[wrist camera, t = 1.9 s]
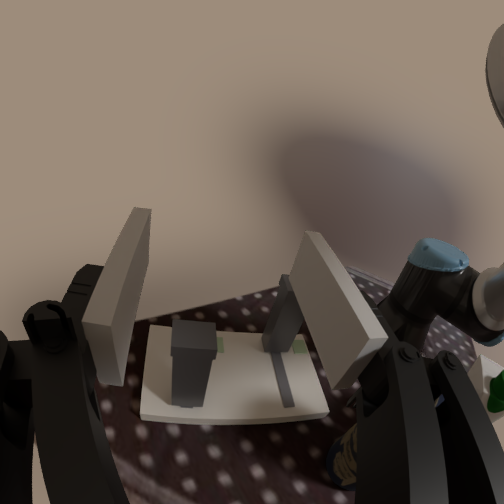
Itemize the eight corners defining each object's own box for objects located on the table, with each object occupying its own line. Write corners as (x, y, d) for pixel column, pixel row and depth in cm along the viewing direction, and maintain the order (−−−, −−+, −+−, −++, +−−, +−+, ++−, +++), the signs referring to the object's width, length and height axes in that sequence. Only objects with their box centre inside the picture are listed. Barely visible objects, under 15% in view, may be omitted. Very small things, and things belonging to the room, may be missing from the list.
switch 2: (284, 337, 47) (310, 276, 40) (289, 353, 44) (318, 292, 37) (259, 336, 46) (282, 274, 39) (263, 353, 43) (288, 290, 36)
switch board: (298, 341, 50) (302, 333, 49) (324, 417, 36) (330, 411, 35) (150, 332, 44) (150, 323, 42) (141, 419, 30) (139, 412, 29)
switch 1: (203, 386, 35) (215, 322, 29) (204, 409, 32) (217, 349, 26) (170, 384, 34) (172, 318, 28) (169, 407, 31) (170, 346, 25)
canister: (309, 455, 30) (382, 388, 22) (356, 428, 35) (428, 355, 26) (344, 505, 24) (441, 458, 15) (390, 470, 28) (476, 408, 19)
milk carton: (399, 457, 30) (491, 381, 20) (410, 416, 37) (485, 338, 27) (437, 472, 27) (529, 402, 17) (444, 432, 34) (521, 359, 24)
